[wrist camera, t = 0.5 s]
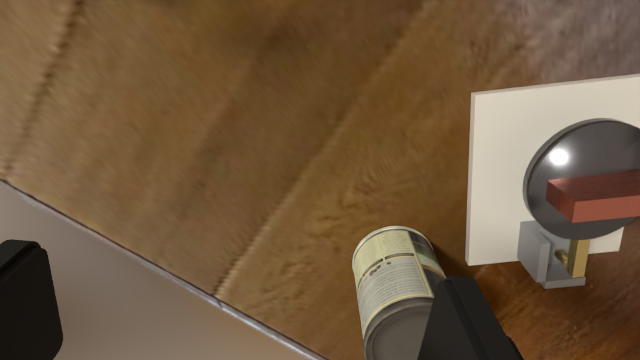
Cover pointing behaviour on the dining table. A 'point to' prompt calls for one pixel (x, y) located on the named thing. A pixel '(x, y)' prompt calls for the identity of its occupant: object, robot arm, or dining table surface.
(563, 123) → the pedestal
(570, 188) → the handwheel
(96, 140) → the dining table surface
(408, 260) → the coffee can
